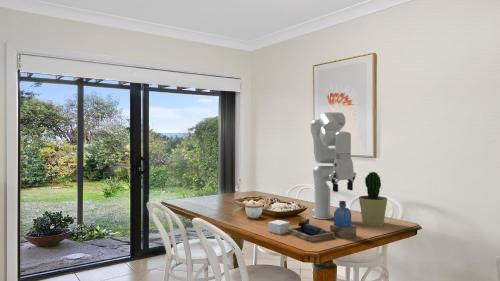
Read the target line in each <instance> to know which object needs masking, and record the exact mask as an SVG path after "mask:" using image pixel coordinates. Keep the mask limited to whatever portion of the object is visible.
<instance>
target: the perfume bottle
mask: <svg viewBox="0 0 500 281" xmlns="http://www.w3.org/2000/svg"><path fill="white" fill-rule="evenodd" d="M338 203H339V204H338V207H337V208H336V209H335V211H334V212H333V225H334V226H340V227H348V226H350V225H352V212H351V210H350V209H349V208H348V207H346V206H347V201H345V200H339V201H338Z"/></svg>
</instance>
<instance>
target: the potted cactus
mask: <svg viewBox="0 0 500 281" xmlns="http://www.w3.org/2000/svg"><path fill="white" fill-rule="evenodd" d="M381 177H382V176H380V175H379V174H378V172H376V171H370V172H368V174H367V173H366V176H365V177H364V185H365V187H366V188H365V189H366V194H367V195H359V196H358V200H359V207H360V213H361V214H360V215H361V222H362V224H363V225H366V226H372V227H373V226H374V227H380V226H384V223H385V217H386V216H385V215H386V210H387V203H388V197H386V196H380V192H381V190H382V189H383V187H382V183H381V182H382V180H381ZM380 189H381V190H380Z"/></svg>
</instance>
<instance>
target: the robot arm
mask: <svg viewBox="0 0 500 281" xmlns="http://www.w3.org/2000/svg"><path fill="white" fill-rule="evenodd" d="M345 124H346V116H345V115H344V113H342V112H330V111H329V112H323V113H321V115H320V117H319V119H315V120H312V121H311V123H310V133H311V136H312V139H313V143H314V144H313V146H314V159H315V162H316V163H317V164H326V165H318V166H315V167H314V168H313V170H312V176H313V182H314V184H313V186H314V208H313V209H311V212H313V214H311V216H312V218H313V219H317V220H330V219H334V214H331V188H330V186H329V184H328V183H327V182H331V184H332V191H333V192H334V193H338V192H339V182H340V181H344V180H345V181H347V184H346V186H347V187H346V188H347V191H353V190H354V189H353V188H354V187H353V186H354V182H355V179H356V176H357V172H355V171H354V164H353V159H352V152H351V151H352V134H351V132H349V131H342V129H343V128H344V126H346V125H345ZM331 147H332V148H331ZM333 147H334V148H333ZM327 164H332V165H327Z"/></svg>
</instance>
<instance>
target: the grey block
mask: <svg viewBox="0 0 500 281" xmlns="http://www.w3.org/2000/svg"><path fill="white" fill-rule="evenodd" d="M267 227H268V228H267V232H269V233H273V234H277V235H283V234H285V233H288V229H289V228H291V222H290V221H286V220H280V219H276V220H272V221H268V222H267Z"/></svg>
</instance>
